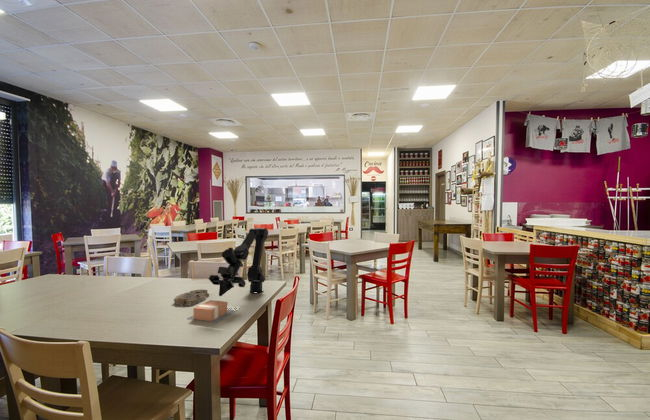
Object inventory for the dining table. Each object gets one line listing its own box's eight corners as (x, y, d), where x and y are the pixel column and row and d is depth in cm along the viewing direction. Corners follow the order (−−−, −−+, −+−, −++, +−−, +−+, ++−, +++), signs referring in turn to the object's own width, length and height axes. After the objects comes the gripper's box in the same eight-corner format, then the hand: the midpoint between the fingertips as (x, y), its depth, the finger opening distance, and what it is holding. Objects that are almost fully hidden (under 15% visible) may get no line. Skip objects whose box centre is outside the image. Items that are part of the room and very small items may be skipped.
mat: (217, 304, 152) (217, 303, 152) (243, 307, 148) (243, 306, 148) (186, 319, 131) (186, 319, 131) (216, 323, 126) (216, 322, 126)
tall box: (210, 300, 142) (193, 307, 131) (227, 301, 140) (211, 309, 128) (210, 310, 142) (193, 318, 131) (227, 312, 140) (211, 321, 128)
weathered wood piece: (196, 294, 171) (169, 304, 152) (196, 286, 171) (170, 295, 152) (216, 297, 168) (192, 307, 148) (216, 288, 168) (192, 298, 148)
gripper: (211, 259, 149) (195, 285, 139) (242, 261, 144) (229, 288, 134) (220, 271, 157) (206, 297, 146) (250, 273, 152) (238, 300, 141)
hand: (219, 295), depth 142 cm, fingers closed
